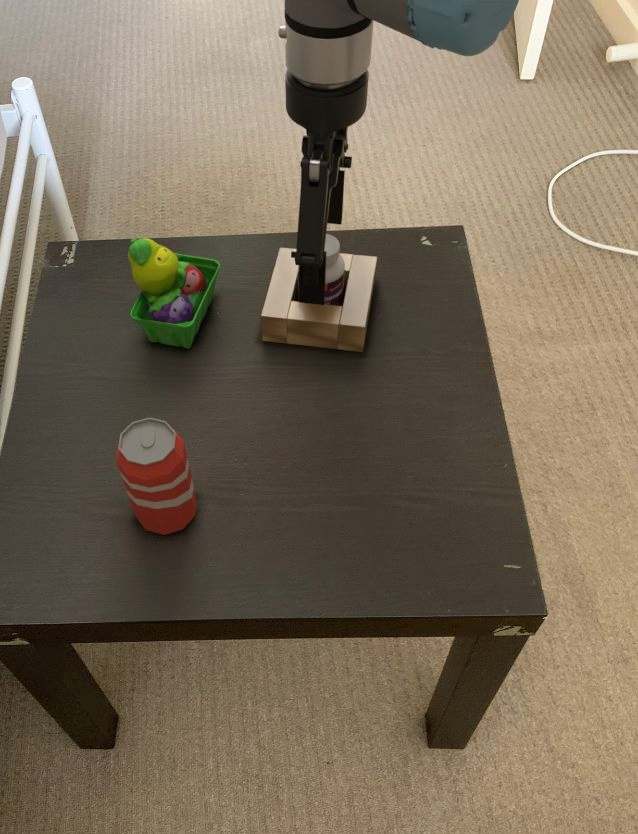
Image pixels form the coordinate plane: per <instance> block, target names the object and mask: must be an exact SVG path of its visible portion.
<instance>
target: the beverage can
mask: <svg viewBox="0 0 638 834" xmlns="http://www.w3.org/2000/svg"><path fill="white" fill-rule="evenodd" d="M185 444H186V443H185V441H184V439H183V438H182V437H181V436H180V435H179V433H177V431H176V430H175V429H174V428H173V427H172V426H171V425H170V424H169V422H167V421H166V420H163V419H158V418H154V417H146V418H143V419H139V420H135V421H132V422H131V423H130V424H129V425H128V426H127V427H125V429H124V430H123V431H122V432H120V434H119V441H118V443H117V448H116V449H117V450H116V458H115V462H116V465H117V467H118V472H119V473H120V476H121V479H122V482H123V484H124V488H125V491H126V493H127V496H128V499H129V503H130V504H131V507H132V510H133V513H134V516H135V518H136V519H137V520H138V522H139V523H140V525H141V526H142V527H143V528H144V530H145V531H148V532H152V533H156V534H159V535H163V536H164V535H168V534H172V533H175V532H178V531H182V530H184V529H185V528H186V527H187V525H189V524H190V522H191V521H192V520H193V519H194V518H195V516H196V514H197V495H196V491H195V485H194V481H193V476H192V472H191V467H190V464H189V462H190V461H189V459H188V458H189V457H188V453H187V448H186V445H185Z"/></svg>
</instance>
